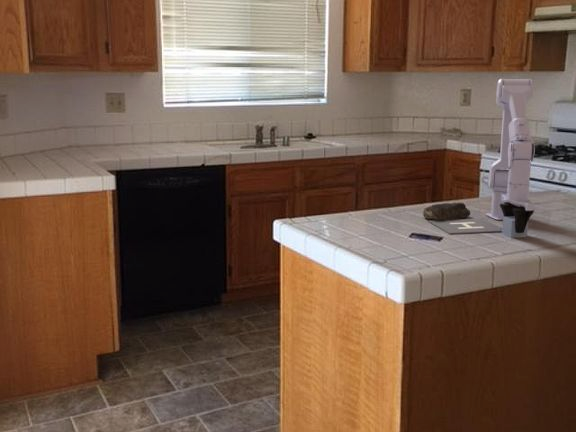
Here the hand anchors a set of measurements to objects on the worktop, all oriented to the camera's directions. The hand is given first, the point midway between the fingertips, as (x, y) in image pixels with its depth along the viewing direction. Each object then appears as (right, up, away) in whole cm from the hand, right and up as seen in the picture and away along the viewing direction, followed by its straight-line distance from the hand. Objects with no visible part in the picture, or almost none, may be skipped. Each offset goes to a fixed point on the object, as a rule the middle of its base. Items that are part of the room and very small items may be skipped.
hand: (514, 230), depth 183 cm
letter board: (-11, +1, +10) cm, 15 cm away
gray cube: (0, -1, 0) cm, 1 cm away
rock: (-14, +3, +22) cm, 26 cm away
